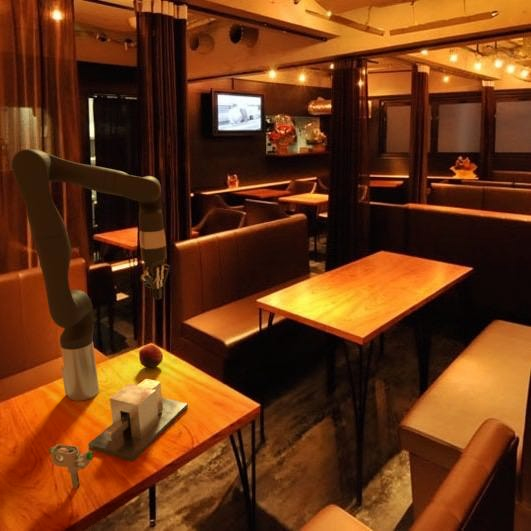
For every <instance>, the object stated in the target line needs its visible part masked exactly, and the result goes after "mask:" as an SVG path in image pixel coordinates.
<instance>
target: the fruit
mask: <svg viewBox="0 0 531 531" xmlns="http://www.w3.org/2000/svg"><path fill="white" fill-rule="evenodd" d="M138 355H139V356H138V357H139V362H140V364H141V365H142V366H143V367H144V368H146V369H147V370H151V369H152V370H153V369H154V368H157V367H158V366H159V365H160V364H161V363H162V362H163V360H164V359H163V358H164V356H163V352H162V351H161V349H160V348H158V346H156V345H154V344H148V345H145V346H144V347H142V348H141V349H140V350H139V352H138Z"/></svg>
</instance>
